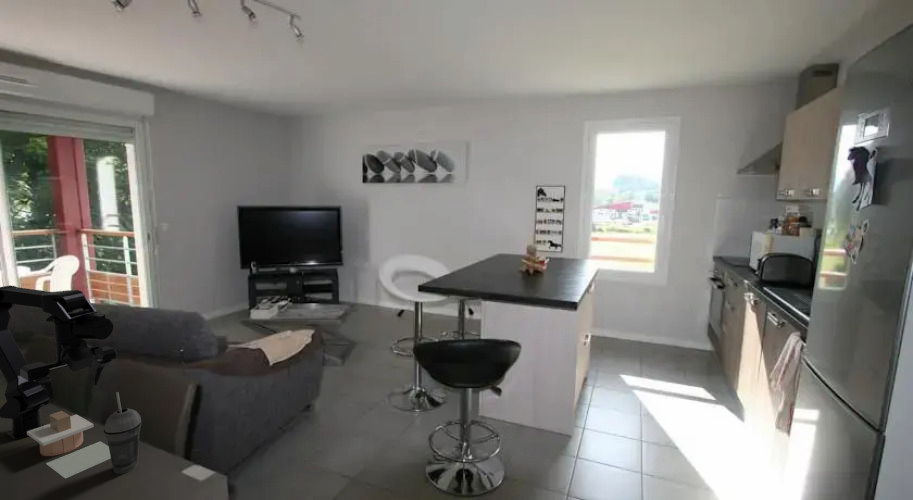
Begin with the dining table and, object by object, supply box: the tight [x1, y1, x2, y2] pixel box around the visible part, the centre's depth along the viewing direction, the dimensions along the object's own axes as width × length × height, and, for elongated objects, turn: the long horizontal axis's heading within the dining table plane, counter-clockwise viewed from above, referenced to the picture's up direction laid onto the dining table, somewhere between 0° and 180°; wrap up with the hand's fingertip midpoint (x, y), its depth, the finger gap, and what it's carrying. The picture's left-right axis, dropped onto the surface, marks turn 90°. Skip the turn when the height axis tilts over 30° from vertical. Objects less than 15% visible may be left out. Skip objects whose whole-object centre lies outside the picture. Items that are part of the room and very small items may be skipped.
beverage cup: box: [103, 391, 143, 475], centre depth 99 cm, size 7×7×20 cm
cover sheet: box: [27, 410, 94, 446], centre depth 107 cm, size 10×10×4 cm
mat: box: [45, 440, 111, 480], centre depth 103 cm, size 11×11×1 cm
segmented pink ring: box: [39, 431, 84, 457], centre depth 108 cm, size 8×8×5 cm
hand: (74, 391), depth 112 cm, fingers open, 9 cm apart
